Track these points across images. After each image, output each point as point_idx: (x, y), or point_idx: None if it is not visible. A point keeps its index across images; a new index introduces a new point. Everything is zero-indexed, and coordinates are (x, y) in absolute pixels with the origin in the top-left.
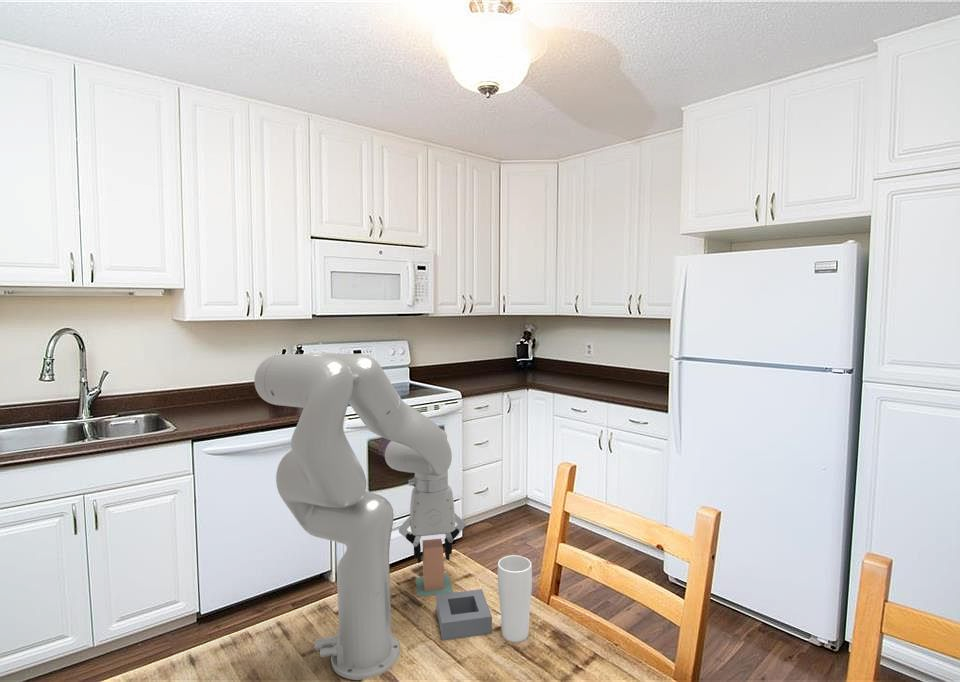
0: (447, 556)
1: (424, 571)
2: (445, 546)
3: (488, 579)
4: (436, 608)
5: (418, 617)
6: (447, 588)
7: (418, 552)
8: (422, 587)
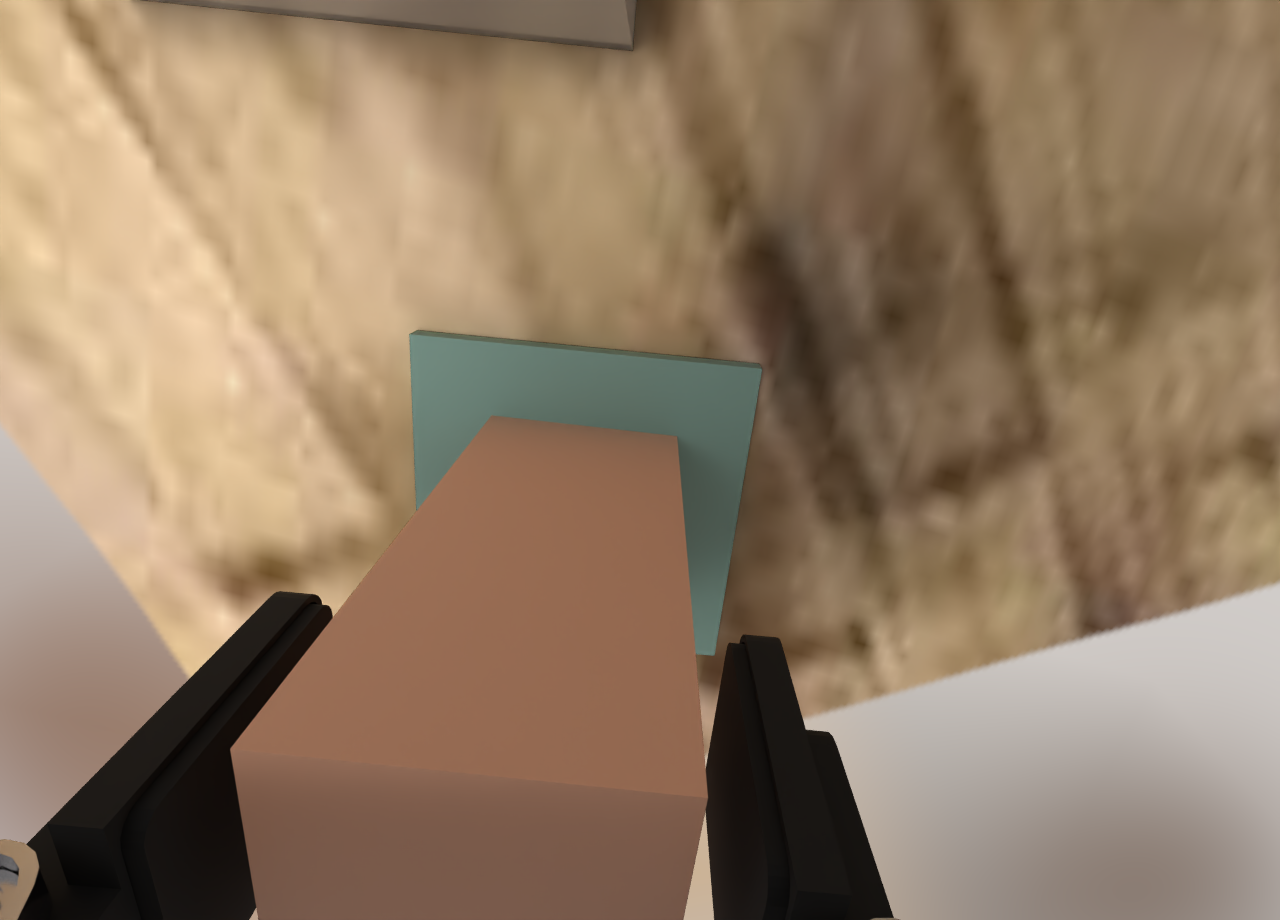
0: (282, 623)
1: (683, 529)
2: (240, 819)
3: (67, 469)
4: (632, 15)
5: (835, 21)
6: (456, 415)
7: (800, 772)
8: (685, 500)
